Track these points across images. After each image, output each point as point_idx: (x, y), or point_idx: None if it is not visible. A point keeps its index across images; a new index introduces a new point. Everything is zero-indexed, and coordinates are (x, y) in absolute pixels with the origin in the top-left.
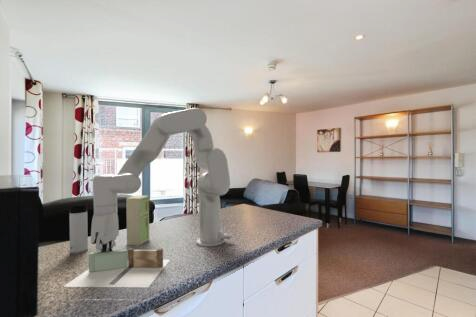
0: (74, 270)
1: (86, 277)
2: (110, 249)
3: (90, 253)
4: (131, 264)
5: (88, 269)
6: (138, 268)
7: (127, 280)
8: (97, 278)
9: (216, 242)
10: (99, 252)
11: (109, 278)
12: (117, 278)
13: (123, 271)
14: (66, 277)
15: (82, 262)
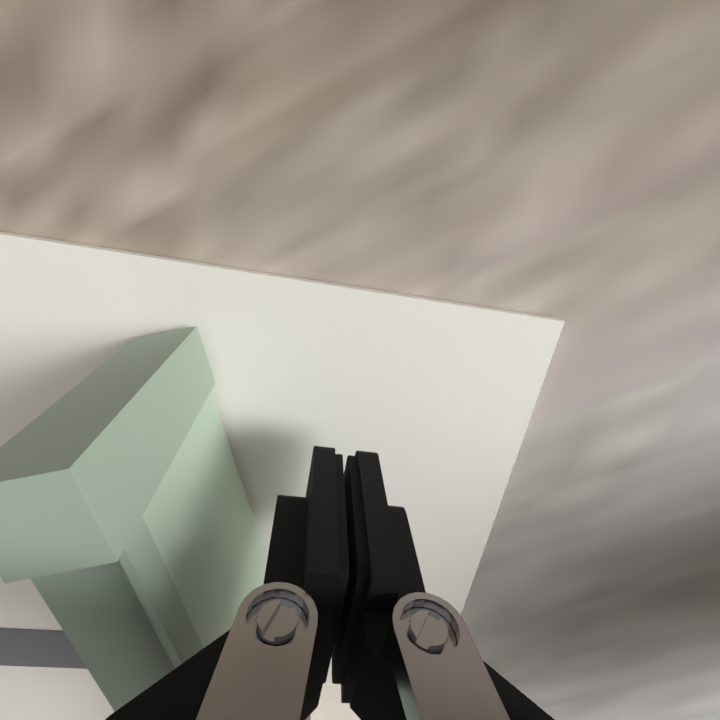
0: (266, 50)
1: (13, 366)
2: (346, 683)
3: (10, 510)
4: None
5: (248, 278)
6: None
7: (3, 716)
8: None
9: None
10: (154, 610)
11: (19, 590)
12: (24, 648)
13: None
14: (19, 52)
15: (572, 25)
